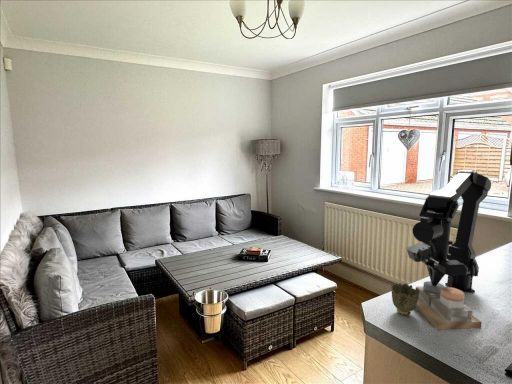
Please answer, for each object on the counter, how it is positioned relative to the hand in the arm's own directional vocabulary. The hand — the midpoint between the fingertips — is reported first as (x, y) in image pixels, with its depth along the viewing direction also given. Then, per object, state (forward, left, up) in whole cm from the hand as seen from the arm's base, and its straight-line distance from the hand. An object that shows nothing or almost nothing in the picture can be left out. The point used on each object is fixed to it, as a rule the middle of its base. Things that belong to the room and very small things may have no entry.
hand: (434, 285), depth 94 cm
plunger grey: (0, 0, -4) cm, 4 cm away
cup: (+11, +4, -7) cm, 14 cm away
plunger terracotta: (0, +8, -2) cm, 8 cm away
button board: (0, +4, -7) cm, 8 cm away
